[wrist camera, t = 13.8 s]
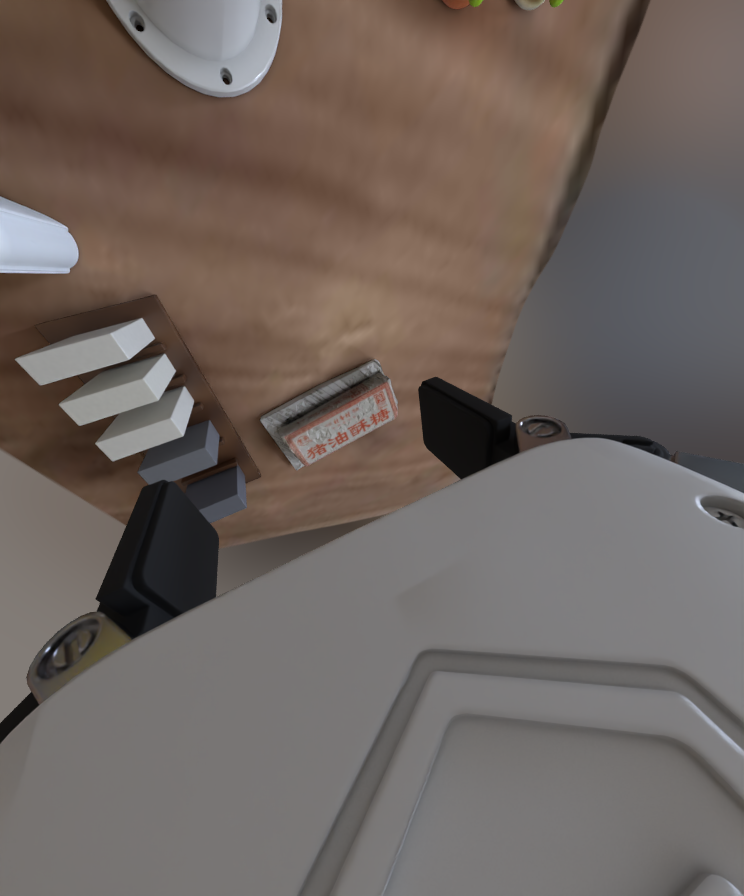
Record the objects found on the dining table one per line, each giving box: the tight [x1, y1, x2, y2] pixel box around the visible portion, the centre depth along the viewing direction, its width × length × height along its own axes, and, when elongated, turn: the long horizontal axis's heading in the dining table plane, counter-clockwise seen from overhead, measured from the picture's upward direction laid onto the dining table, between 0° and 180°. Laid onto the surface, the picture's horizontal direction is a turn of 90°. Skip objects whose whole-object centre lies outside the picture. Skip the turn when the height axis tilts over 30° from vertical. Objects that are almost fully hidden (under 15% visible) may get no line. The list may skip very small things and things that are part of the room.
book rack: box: [34, 295, 261, 493], centre depth 33 cm, size 24×10×2 cm, turn 12°
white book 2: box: [59, 354, 176, 426], centre depth 26 cm, size 2×6×9 cm, turn 102°
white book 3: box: [95, 386, 194, 461], centre depth 28 cm, size 2×6×9 cm, turn 103°
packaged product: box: [260, 359, 398, 470], centre depth 40 cm, size 18×5×10 cm
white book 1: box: [15, 318, 155, 385], centre depth 24 cm, size 2×6×9 cm, turn 102°
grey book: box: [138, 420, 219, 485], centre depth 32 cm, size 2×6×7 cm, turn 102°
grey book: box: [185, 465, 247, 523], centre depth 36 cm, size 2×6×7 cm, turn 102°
